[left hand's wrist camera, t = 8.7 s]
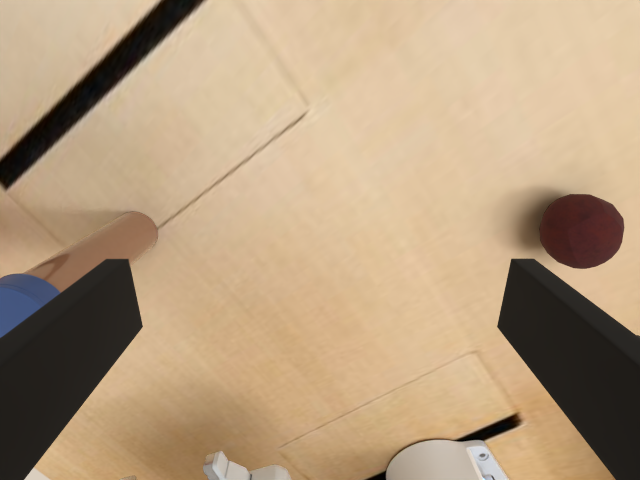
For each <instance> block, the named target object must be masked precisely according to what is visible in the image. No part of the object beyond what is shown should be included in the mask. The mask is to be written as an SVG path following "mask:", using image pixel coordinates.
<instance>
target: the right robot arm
mask: <svg viewBox="0 0 640 480" xmlns="http://www.w3.org/2000/svg"><path fill="white" fill-rule="evenodd" d="M205 459H206V461H205V463H204V465H203V471H204V473H205V474H206V475H208V477H207V478H208V479H209V480H292V479H291V477H290V475H289V472H288V470H287V469H286V468H284V467H282V466H280V465H277V464H273V465H269V466H266V467H262V468H259V469H255V470H251V471H248V470H247V469H246V468H245V467H243V466H241V465H239V464H236V463H234V462H232V461H230V460H229V461H228V459H227V458H226V456H225V455H224V453H223V452H222V451H218V452H215V453H211V454H208V455H206V458H205ZM119 480H136V476H130V477H126V478H122V479H119ZM386 480H510V479H509V478H508V476H507V475H506V473H505V472H504V470H503V469H502V467H501V466H500V464H499V463H498V461H497V460H496V458H495V457H494V455H493V454H492V453H491V451H490V450H489V448H488V447H487V445H486V444H485V442H483V441H481V440H471V441H464V442H457V441H450V440H429V441H424V442H420V443H417V444H414V445H412V446H409V447H407V448H406V449H404V450H402V451H401V452H400V453H398V454H397V455H396V456H395V457H394V458H393V460H392V461H391V462H390V464H389V466H388V468H387V472H386Z"/></svg>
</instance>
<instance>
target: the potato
mask: <svg viewBox="0 0 640 480" xmlns="http://www.w3.org/2000/svg"><path fill="white" fill-rule="evenodd" d="M623 232H624V221H623V218H622V216H621V215H620V213H619V212H618V211H617V210H616V208H615V207H614V206H613V204H611V203H609V202H606V201H604V200H602V199H600V198H597V197H595V196H592V195H586V194H570V195H567V196H564V197H562V198H559V199H557V200H556V201H554V202H553V203H552V204H551V205H550V206H549V207H548V208H547V210H546V211H545V213H544V215H543V218H542V222H541V225H540V241H541V243H542V245H543V247H544V248H545V250H546V251H547V253H548V254H549V255H550V256H552V257H553V258H554V259H555V260H556V261H557V262H559V263H562V264H564V265H567V266H570V267H572V268H580V269H586V268H591V267H596V266H598V265H600V264H603V263H605V262H606V261H608V260H609V259H610V258H612V257H613V256H614V255H615V254H616V252H617V251H618V250H619V248H620V246H621V243H622V238H623Z"/></svg>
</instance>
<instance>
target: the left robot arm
mask: <svg viewBox="0 0 640 480" xmlns="http://www.w3.org/2000/svg"><path fill="white" fill-rule="evenodd" d="M142 327H143V326H142V321H141V316H140V311H139V306H138V302H137V297H136V292H135V287H134V282H133V278H132V273H131V268H130V263H129V259H105V260H104V261H103V262H101V263H100V264H99V265H97V266H96V267H95V268H93V269H92V270H91V271H89V272H88V273H87V274H85V275H84V276H83V277H81V278H80V279H79V280H77V281H76V282H75V283H73V284H72V285H71V286H69V287H68V288H67V289H65V290H64V291H63V292H61V293H60V294H59V295H57V296H56V297H55V298H53V299H52V300H51V301H49V302H48V303H47V304H45V305H44V306H43V307H41V308H40V309H39V310H37V311H36V312H35V313H33V314H32V315H31V316H29V317H28V318H27V319H25V320H24V321H23V322H21V323H20V324H18V325H17V326H16V327H14V328H13V329H12V330H10V331H9V332H8V333H6V334H5V335H4V336H2V337H1V338H0V480H24V479H25V478H26V476H27V475H28V474H29V473H30V471H31V470H32V469H33V467H34V466H35V465H36V464H37V462H38V461H39V460H40V458H41V457H42V456H43V455H44V453H45V452H46V451H47V449H48V448H49V447H50V446H51V444H52V443H53V442H54V440H55V439H56V438H57V437H58V435H59V434H60V433H61V431H62V430H63V429H64V428H65V426H66V425H67V424H68V422H69V421H70V420H71V419H72V417H73V416H74V415H75V413H76V412H77V411H78V410H79V408H80V407H81V406H82V404H83V403H84V402H85V400H86V399H87V398H88V397H89V395H90V394H91V393H92V391H93V390H94V389H95V388H96V386H97V385H98V384H99V382H100V381H101V380H102V379H103V377H104V376H105V375H106V373H107V372H108V371H109V370H110V368H111V367H112V366H113V364H114V363H115V362H116V361H117V359H118V358H119V357H120V355H121V354H122V353H123V352H124V350H125V349H126V348H127V346H128V345H129V344H130V343H131V341H132V340H133V339H134V337H135V336H136V335H137V334H138V332H139V331H140V330H141V328H142ZM497 327H498V328H499V330H500V331H501V332H502V334H503V335H504V336H505V337H506V339H507V340H508V341H509V343H510V344H511V345H512V346H513V348H514V349H515V350H516V352H517V353H518V354H519V355H520V357H521V358H522V359H523V361H524V362H525V363H526V364H527V366H528V367H529V368H530V370H531V371H532V372H533V373H534V375H535V376H536V377H537V379H538V380H539V381H540V382H541V384H542V385H543V386H544V388H545V389H546V390H547V391H548V393H549V394H550V395H551V397H552V398H553V399H554V400H555V402H556V403H557V404H558V406H559V407H560V408H561V410H562V411H563V412H564V413H565V415H566V416H567V417H568V419H569V420H570V421H571V422H572V424H573V425H574V426H575V428H576V429H577V430H578V431H579V433H580V434H581V435H582V437H583V438H584V439H585V440H586V442H587V443H588V444H589V446H590V447H591V448H592V449H593V451H594V452H595V453H596V455H597V456H598V457H599V458H600V460H601V461H602V462H603V464H604V465H605V466H606V467H607V469H608V470H609V471H610V473H611V474H612V475H613V476H614V478H615V479H616V480H640V336H638V335H635V334H634V333H632V332H631V331H630V330H628V329H627V328H626V327H624V326H623V325H622V324H620V323H619V322H617V321H616V320H615V319H613V318H612V317H611V316H609V315H608V314H607V313H605V312H604V311H603V310H601V309H600V308H599V307H597V306H596V305H595V304H593V303H592V302H591V301H589V300H588V299H587V298H585V297H584V296H583V295H581V294H580V293H579V292H577V291H576V290H575V289H573V288H572V287H571V286H569V285H568V284H567V283H565V282H564V281H563V280H561V279H560V278H559V277H557V276H556V275H555V274H553V273H552V272H551V271H549V270H548V269H547V268H545V267H544V266H543V265H541V264H540V263H539V262H537V261H536V260H535V259H511V263H510V268H509V273H508V278H507V282H506V287H505V292H504V297H503V302H502V306H501V311H500V316H499V321H498V326H497Z"/></svg>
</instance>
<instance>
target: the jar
mask: <svg viewBox="0 0 640 480" xmlns="http://www.w3.org/2000/svg"><path fill="white" fill-rule="evenodd" d="M157 238H158V231H157V228H156V225H155V224H154V222H153V221H152V220H151V219H150V218H149V217H148V216H146V215H144V214H142V213H139V212H127V213H125V214H123V215H121V216H119V217H118V218H116V219H114V220H113V221H111V222H109V223H108V224H106V225H104V226H102V227H101V228H99V229H97V230H96V231H94V232H92V233H90V234H89V235H87V236H85V237H84V238H82V239H80V240H79V241H77V242H75V243H73V244H72V245H70V246H68V247H67V248H65V249H63V250H62V251H60V252H58V253H56V254H55V255H53V256H51V257H50V258H48V259H46V260H45V261H43V262H41V263H39V264H38V265H36V266H34V267H33V268H31V269H29V270H27V271H26V272H24V273H22V274H28V275H32V276H36V277H39V278H41V279H43V280H45V281H47V282H49V283H50V284H52V285H53V286H54V287H55V288H57V289H58V290H59V291H60V292H63V291H64V290H65V289H67V288H68V287H69V286H71V285H72V284H73V283H75V282H76V281H77V280H79V279H80V278H81V277H83V276H84V275H85V274H87V273H88V272H89V271H91V270H92V269H93V268H95V267H96V266H97V265H99V264H100V263H101V262H103V261H104V260H105V259H129V263H130V266H131V265H133V264H134V263H135V262H136V261H137V260H138V259H139V258H140V257H142V256H143V255H144V254H145V253H146V252H147V251H148V250H149V249H151V248H152V247H153V246H154V245H155V243H156V242H157Z"/></svg>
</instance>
